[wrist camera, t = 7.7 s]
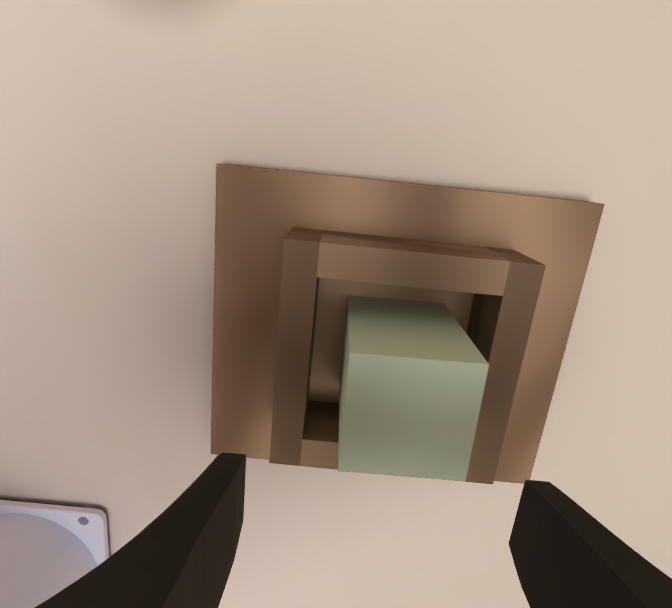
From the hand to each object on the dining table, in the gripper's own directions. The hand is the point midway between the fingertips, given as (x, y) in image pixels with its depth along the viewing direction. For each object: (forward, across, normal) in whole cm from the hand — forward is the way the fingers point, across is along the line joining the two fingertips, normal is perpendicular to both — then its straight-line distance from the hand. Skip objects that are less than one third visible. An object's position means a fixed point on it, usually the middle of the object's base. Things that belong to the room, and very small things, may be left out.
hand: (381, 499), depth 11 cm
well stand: (+9, -1, -1) cm, 9 cm away
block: (+8, -1, -1) cm, 8 cm away
